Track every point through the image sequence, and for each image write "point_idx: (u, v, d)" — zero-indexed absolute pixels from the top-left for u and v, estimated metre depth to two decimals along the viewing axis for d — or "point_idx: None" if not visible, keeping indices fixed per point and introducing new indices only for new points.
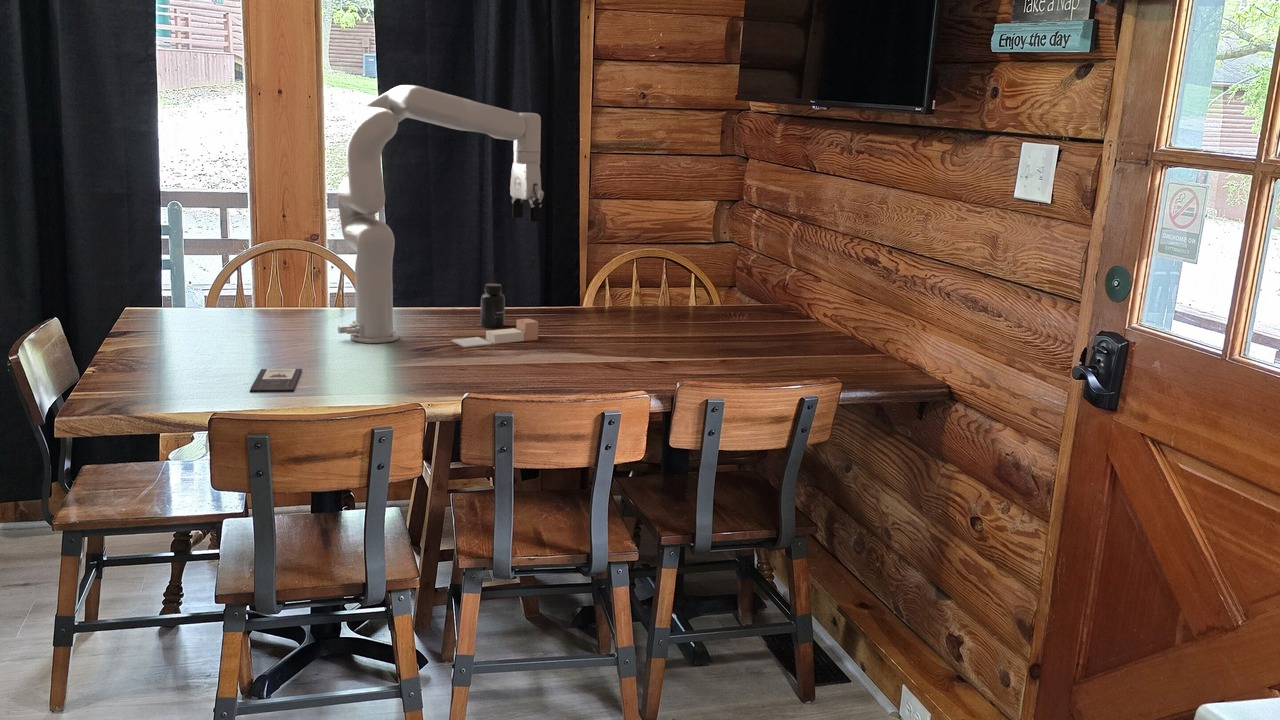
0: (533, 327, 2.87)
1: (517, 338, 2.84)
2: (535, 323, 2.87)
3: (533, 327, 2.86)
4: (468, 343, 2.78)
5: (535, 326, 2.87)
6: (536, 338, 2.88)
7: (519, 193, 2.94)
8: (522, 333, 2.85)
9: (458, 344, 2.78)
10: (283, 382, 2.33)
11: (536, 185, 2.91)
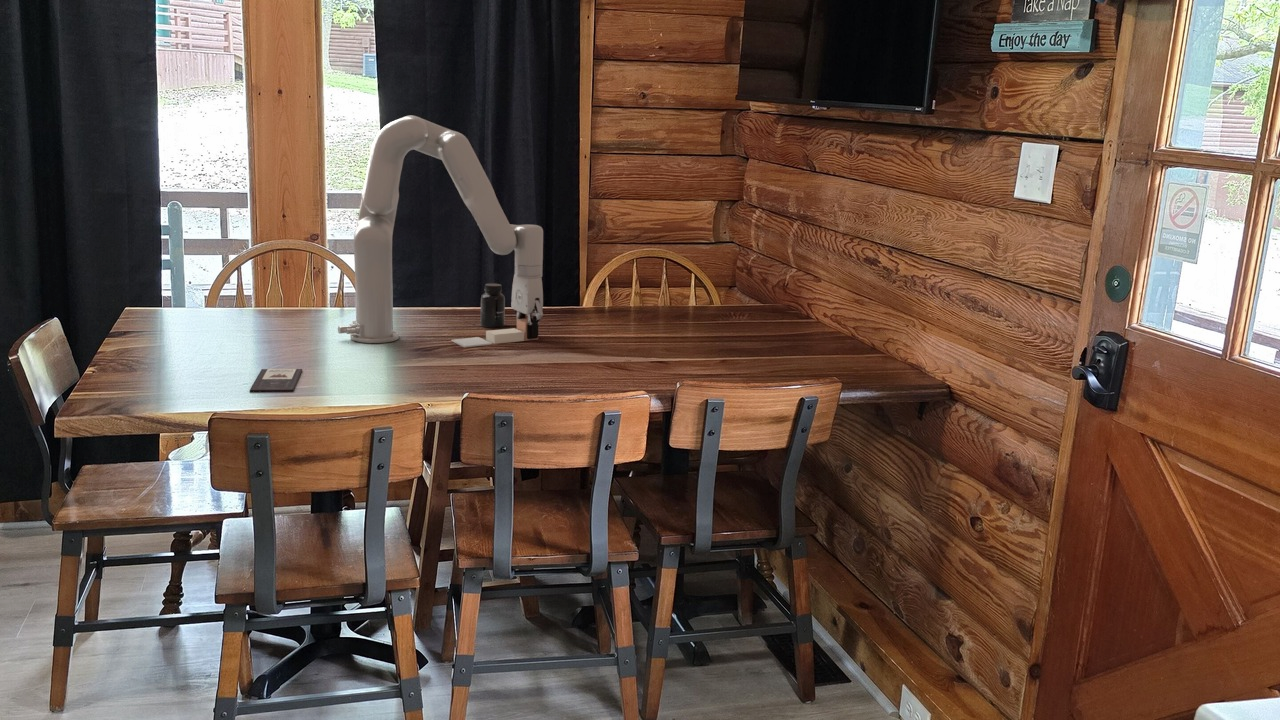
0: None
1: (517, 338, 2.84)
2: None
3: None
4: (468, 343, 2.78)
5: None
6: (536, 338, 2.88)
7: (520, 307, 2.84)
8: (522, 333, 2.85)
9: (458, 344, 2.78)
10: (283, 382, 2.33)
11: (537, 302, 2.82)
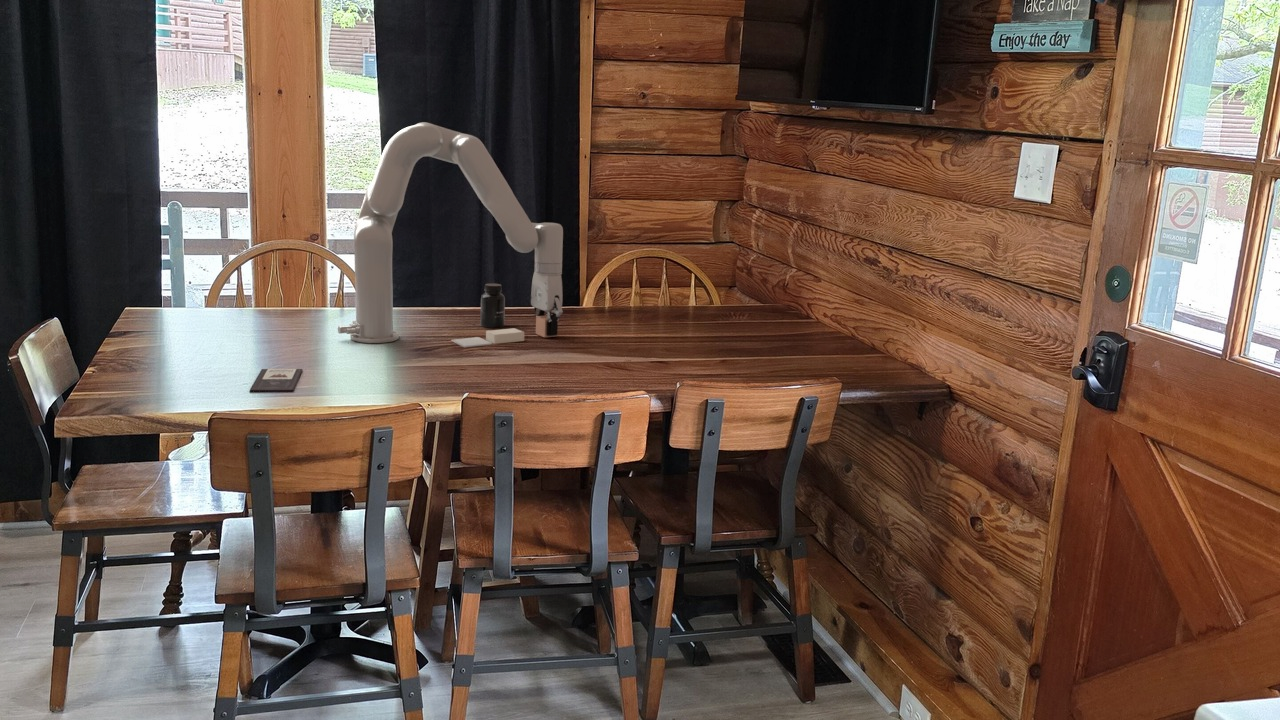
0: None
1: (517, 338, 2.84)
2: None
3: None
4: (468, 343, 2.78)
5: None
6: None
7: (540, 304, 2.88)
8: (522, 333, 2.85)
9: (458, 344, 2.78)
10: (283, 382, 2.33)
11: (557, 299, 2.86)
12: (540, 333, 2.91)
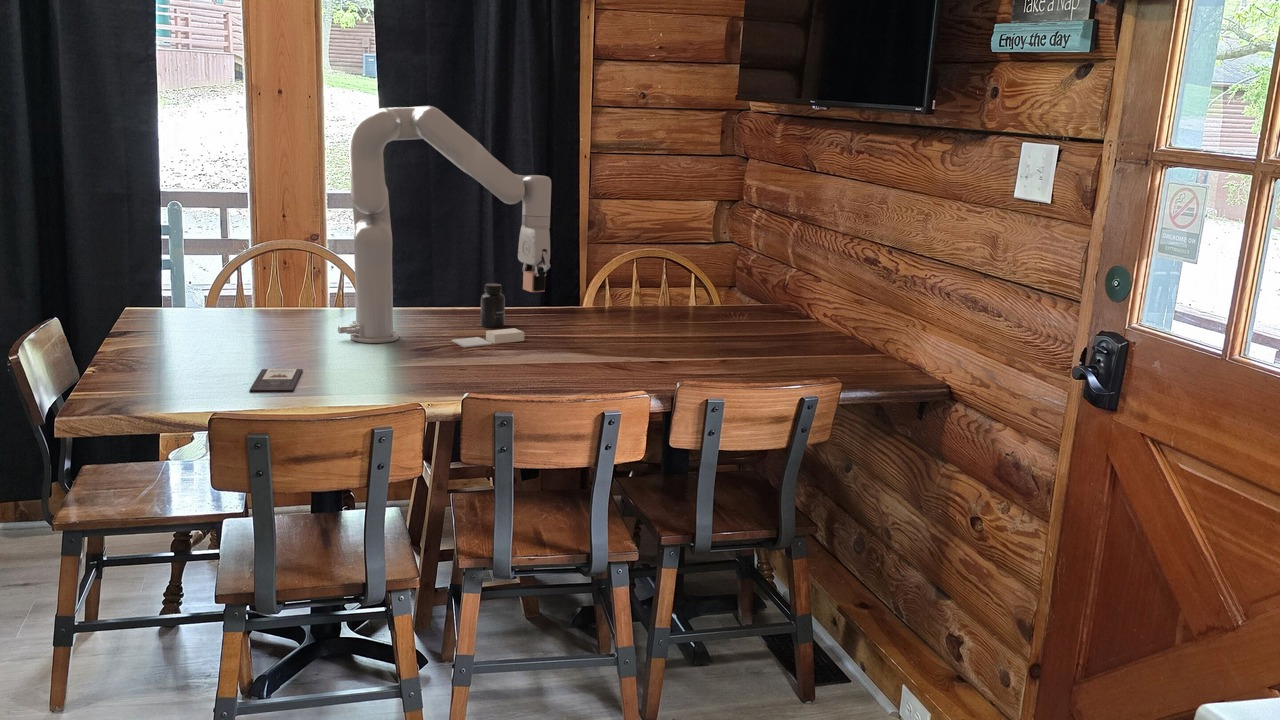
0: None
1: (517, 338, 2.84)
2: None
3: None
4: (468, 343, 2.78)
5: None
6: (543, 290, 2.86)
7: (527, 258, 2.83)
8: (522, 333, 2.85)
9: (458, 344, 2.78)
10: (283, 382, 2.33)
11: (544, 253, 2.81)
12: (527, 288, 2.86)
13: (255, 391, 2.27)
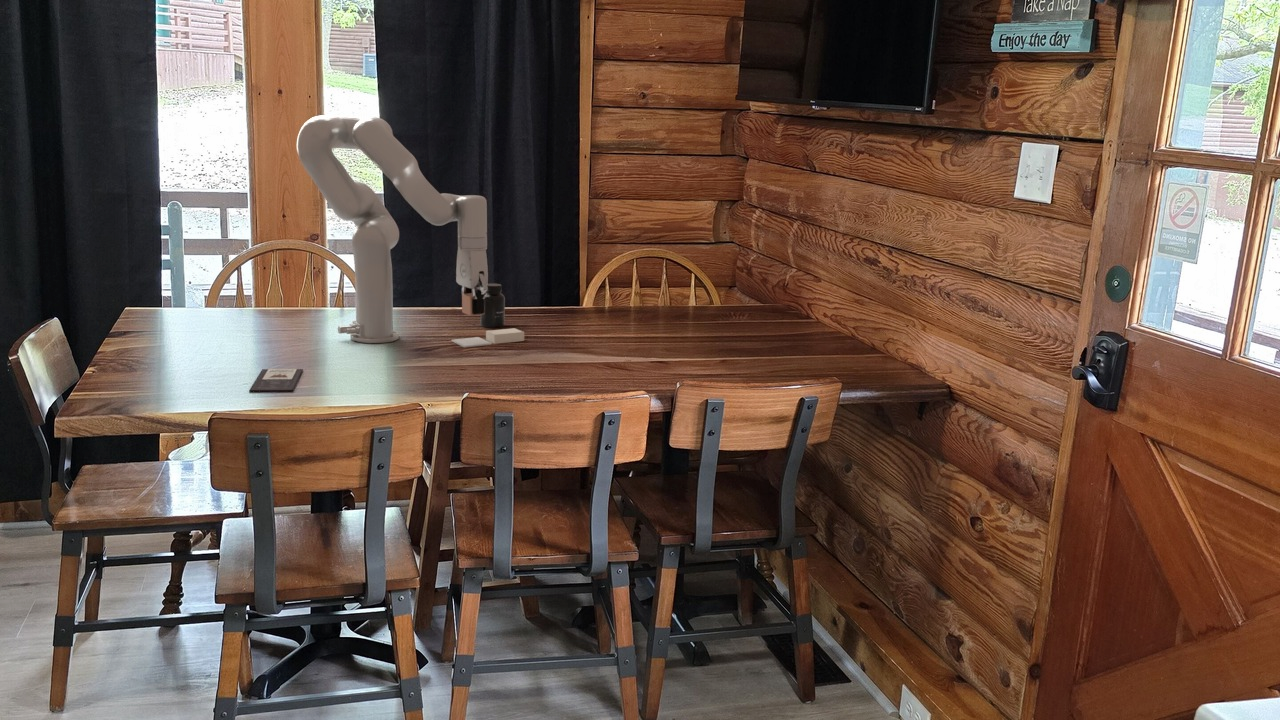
0: None
1: (517, 338, 2.84)
2: None
3: None
4: (468, 343, 2.78)
5: None
6: None
7: (465, 281, 2.74)
8: (522, 333, 2.85)
9: (458, 344, 2.78)
10: (283, 382, 2.33)
11: (482, 276, 2.72)
12: (466, 311, 2.77)
13: (255, 391, 2.27)
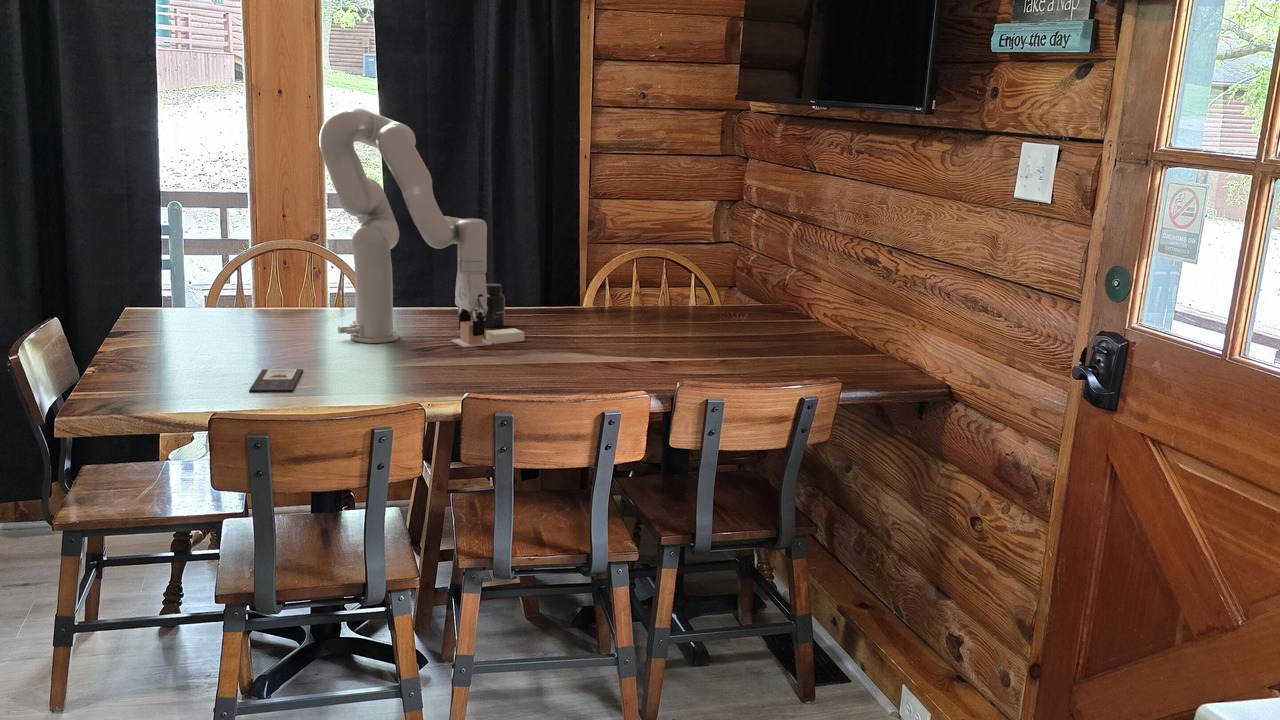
0: None
1: (517, 338, 2.84)
2: None
3: None
4: None
5: None
6: (480, 341, 2.79)
7: (463, 304, 2.75)
8: (522, 333, 2.85)
9: (458, 344, 2.78)
10: (283, 382, 2.33)
11: (481, 297, 2.73)
12: (464, 339, 2.79)
13: (255, 391, 2.27)
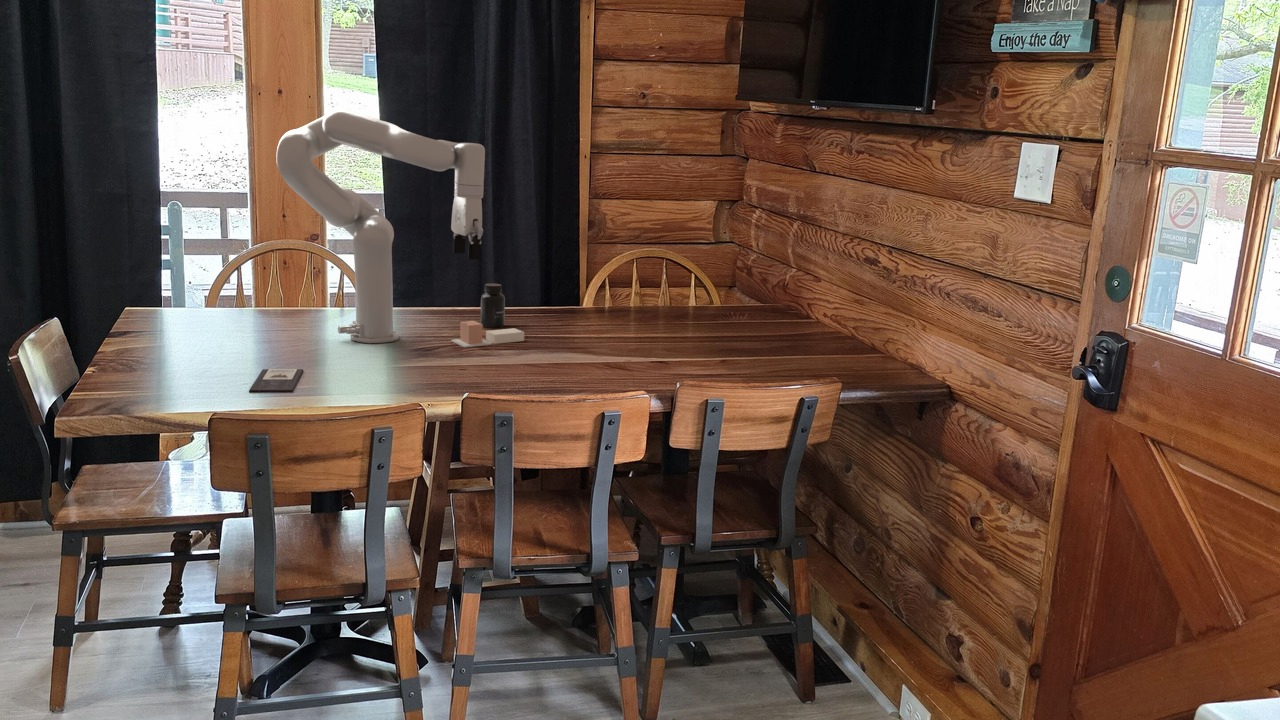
0: (477, 330, 2.78)
1: (517, 338, 2.84)
2: (479, 326, 2.78)
3: (477, 330, 2.78)
4: None
5: (479, 329, 2.78)
6: (480, 341, 2.79)
7: (459, 228, 2.75)
8: (522, 333, 2.85)
9: (458, 344, 2.78)
10: (283, 382, 2.33)
11: (476, 221, 2.72)
12: (464, 339, 2.79)
13: (255, 391, 2.27)
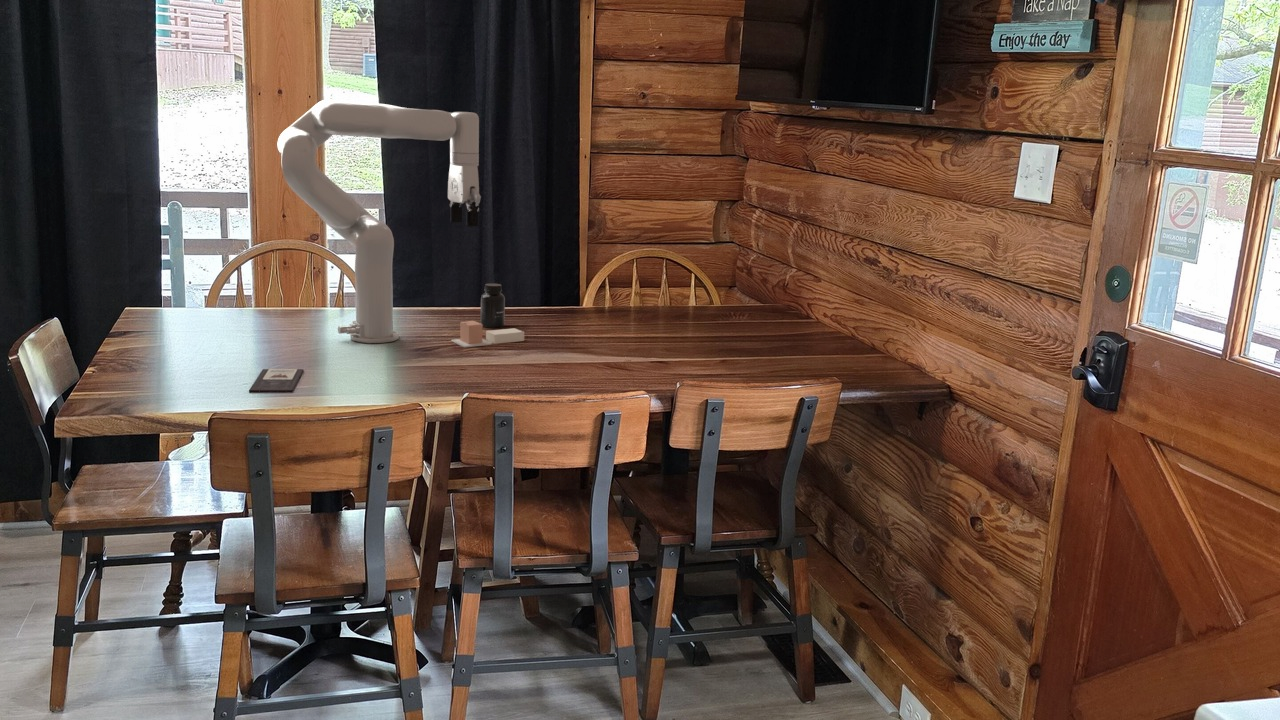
0: (477, 330, 2.78)
1: (517, 338, 2.84)
2: (479, 326, 2.78)
3: (477, 330, 2.78)
4: None
5: (479, 329, 2.78)
6: (480, 341, 2.79)
7: (456, 196, 2.79)
8: (522, 333, 2.85)
9: (458, 344, 2.78)
10: (283, 382, 2.33)
11: (473, 188, 2.77)
12: (464, 339, 2.79)
13: (255, 391, 2.27)
